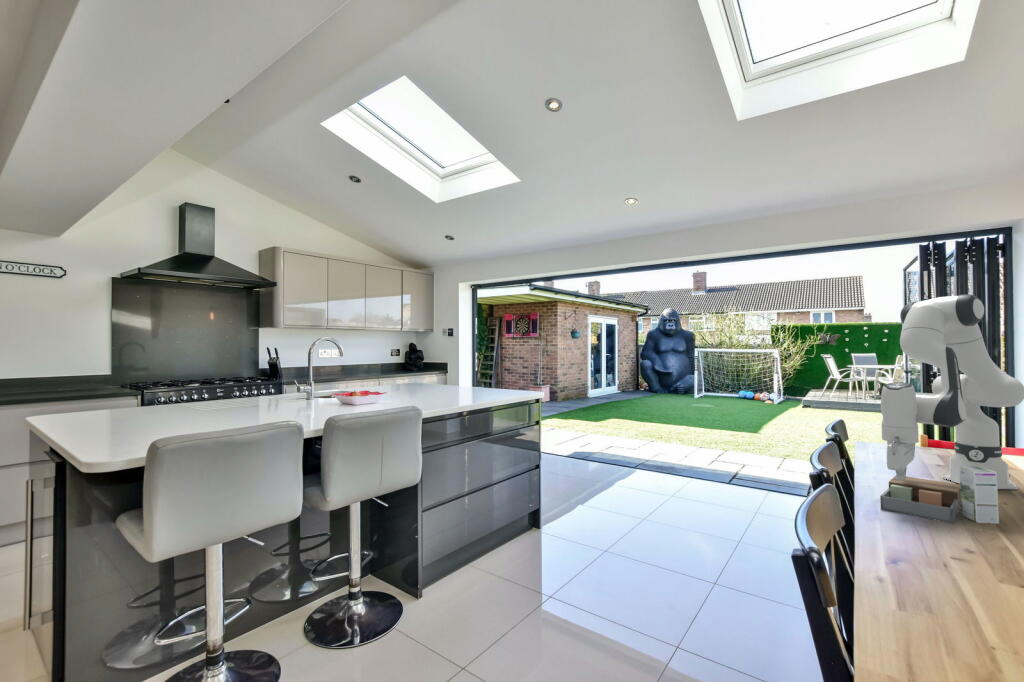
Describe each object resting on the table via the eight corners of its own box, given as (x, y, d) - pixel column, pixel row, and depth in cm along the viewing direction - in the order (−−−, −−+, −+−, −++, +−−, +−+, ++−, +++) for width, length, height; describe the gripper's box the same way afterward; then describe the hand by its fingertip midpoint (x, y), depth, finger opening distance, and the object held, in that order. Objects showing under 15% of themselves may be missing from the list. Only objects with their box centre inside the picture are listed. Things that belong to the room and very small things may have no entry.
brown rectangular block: (896, 492, 157) (896, 475, 157) (962, 504, 145) (961, 484, 146) (889, 500, 149) (888, 481, 150) (958, 513, 137) (957, 492, 138)
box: (889, 500, 149) (888, 488, 150) (958, 513, 137) (957, 499, 138) (880, 509, 141) (880, 496, 142) (953, 523, 129) (952, 508, 130)
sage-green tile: (891, 484, 148) (890, 485, 147) (912, 487, 145) (910, 489, 143) (892, 500, 148) (890, 501, 147) (912, 503, 145) (911, 505, 143)
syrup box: (1000, 524, 129) (998, 471, 129) (975, 523, 130) (973, 470, 130) (984, 517, 134) (982, 466, 134) (960, 515, 135) (958, 465, 136)
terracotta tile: (919, 489, 143) (918, 490, 141) (941, 492, 139) (941, 494, 138) (920, 505, 143) (919, 507, 141) (942, 509, 139) (941, 511, 138)
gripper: (906, 441, 136) (908, 489, 136) (918, 432, 150) (920, 475, 149) (879, 438, 141) (881, 484, 140) (893, 430, 154) (895, 471, 154)
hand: (901, 479), depth 145 cm, fingers closed
